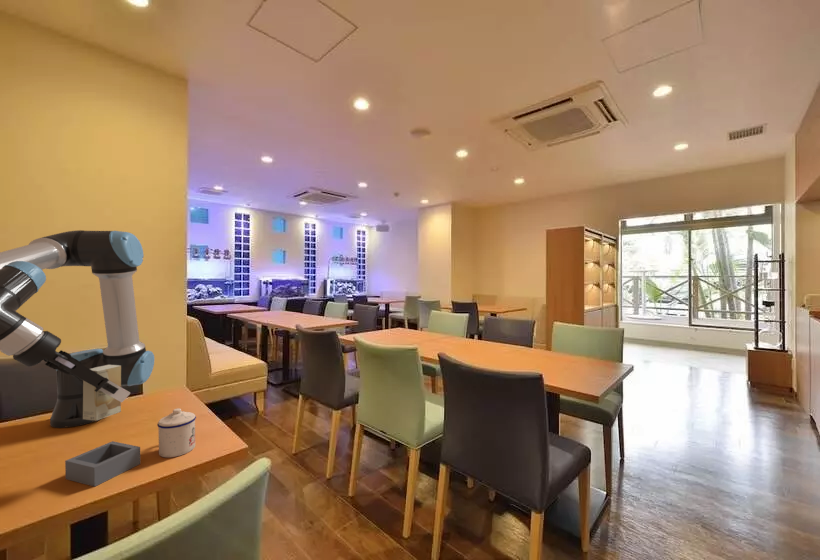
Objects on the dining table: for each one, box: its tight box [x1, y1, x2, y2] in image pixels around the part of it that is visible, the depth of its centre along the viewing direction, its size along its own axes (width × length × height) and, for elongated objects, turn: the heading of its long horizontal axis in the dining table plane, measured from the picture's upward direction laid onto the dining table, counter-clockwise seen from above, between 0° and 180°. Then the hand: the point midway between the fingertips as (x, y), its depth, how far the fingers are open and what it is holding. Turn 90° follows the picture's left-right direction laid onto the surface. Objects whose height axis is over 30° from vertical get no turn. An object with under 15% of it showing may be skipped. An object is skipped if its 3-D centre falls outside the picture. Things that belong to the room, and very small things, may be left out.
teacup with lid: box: [157, 408, 197, 458], centre depth 101 cm, size 12×9×12 cm
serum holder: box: [64, 440, 141, 488], centre depth 89 cm, size 10×10×4 cm
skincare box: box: [83, 365, 122, 422], centre depth 89 cm, size 6×4×12 cm
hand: (120, 395), depth 92 cm, fingers closed on skincare box, 6 cm apart
